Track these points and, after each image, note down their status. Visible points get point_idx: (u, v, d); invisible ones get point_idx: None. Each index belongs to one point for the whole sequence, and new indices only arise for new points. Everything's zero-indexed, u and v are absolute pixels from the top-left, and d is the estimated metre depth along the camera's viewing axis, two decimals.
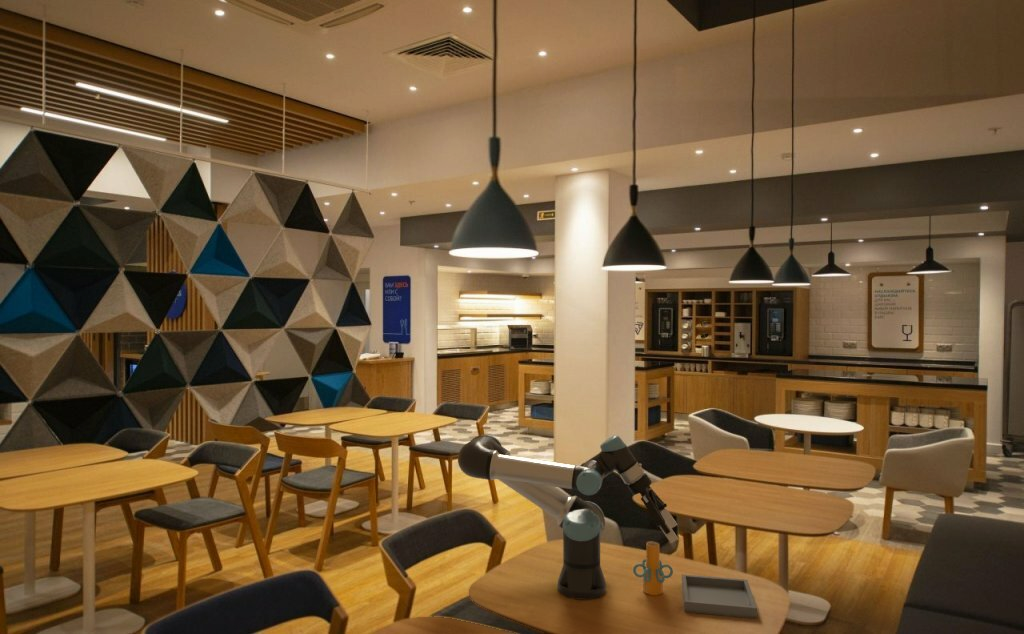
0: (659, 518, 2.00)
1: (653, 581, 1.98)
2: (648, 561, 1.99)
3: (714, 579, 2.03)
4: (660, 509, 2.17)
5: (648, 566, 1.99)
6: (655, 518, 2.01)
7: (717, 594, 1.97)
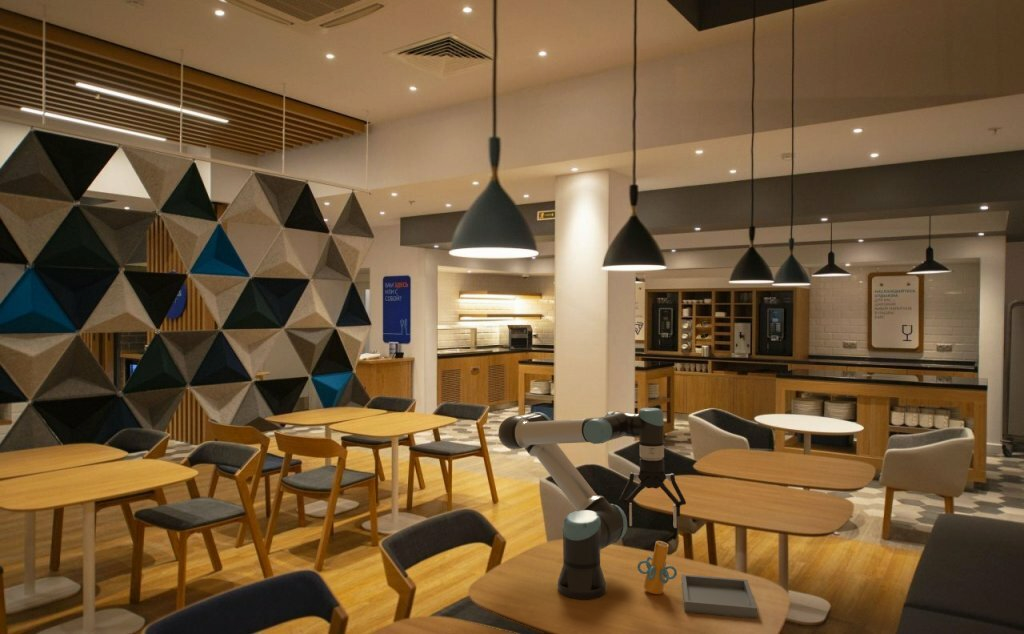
0: (621, 496, 2.02)
1: (656, 580, 1.97)
2: (654, 560, 1.99)
3: (714, 579, 2.03)
4: None
5: (653, 564, 1.99)
6: (622, 493, 2.03)
7: (717, 594, 1.97)
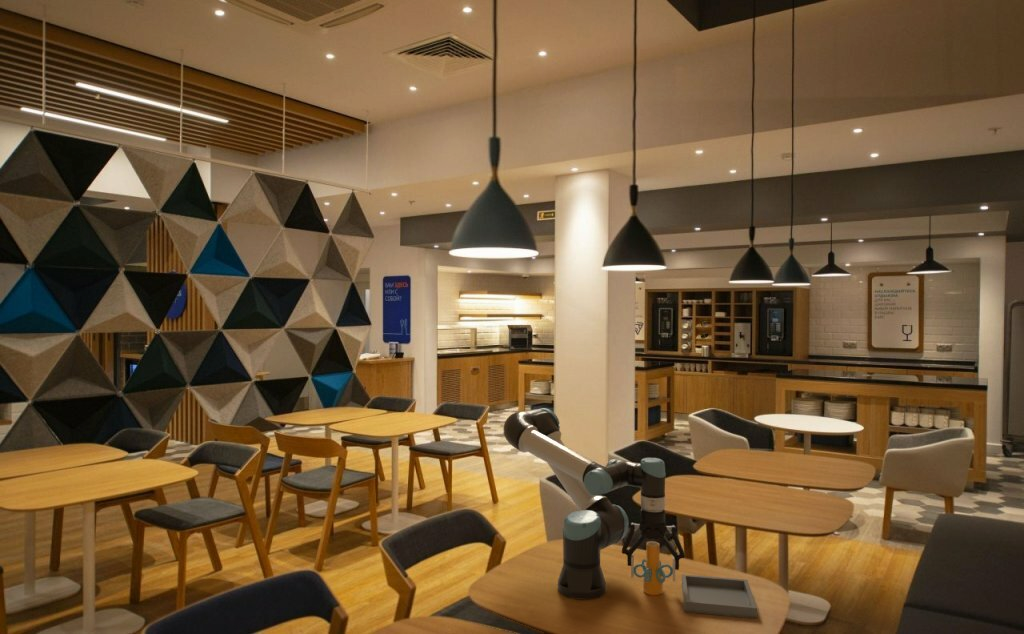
0: (623, 547, 2.02)
1: (653, 581, 1.98)
2: (648, 561, 1.99)
3: (714, 579, 2.03)
4: None
5: (648, 566, 1.99)
6: (624, 544, 2.03)
7: (717, 594, 1.97)
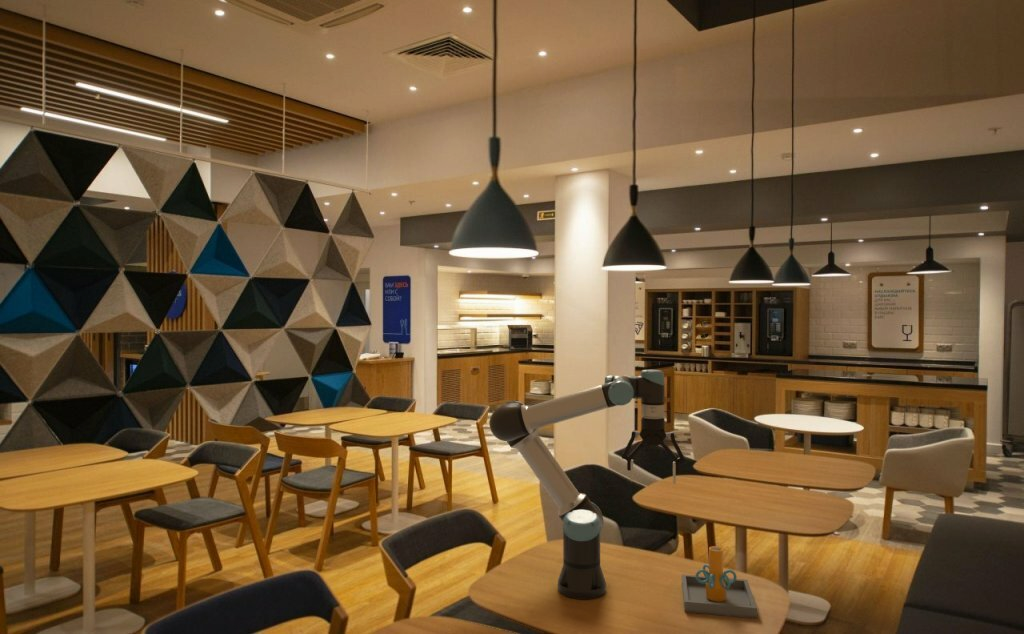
0: (623, 453, 2.12)
1: (717, 587, 1.92)
2: (712, 567, 1.93)
3: None
4: None
5: (712, 572, 1.93)
6: (624, 450, 2.13)
7: None
